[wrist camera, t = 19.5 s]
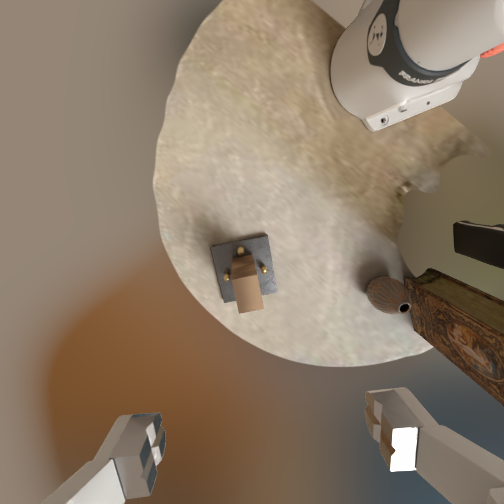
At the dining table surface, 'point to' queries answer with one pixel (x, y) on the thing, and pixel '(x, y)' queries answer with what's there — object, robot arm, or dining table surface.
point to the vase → (388, 295)
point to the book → (461, 326)
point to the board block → (246, 284)
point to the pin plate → (238, 249)
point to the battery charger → (480, 242)
